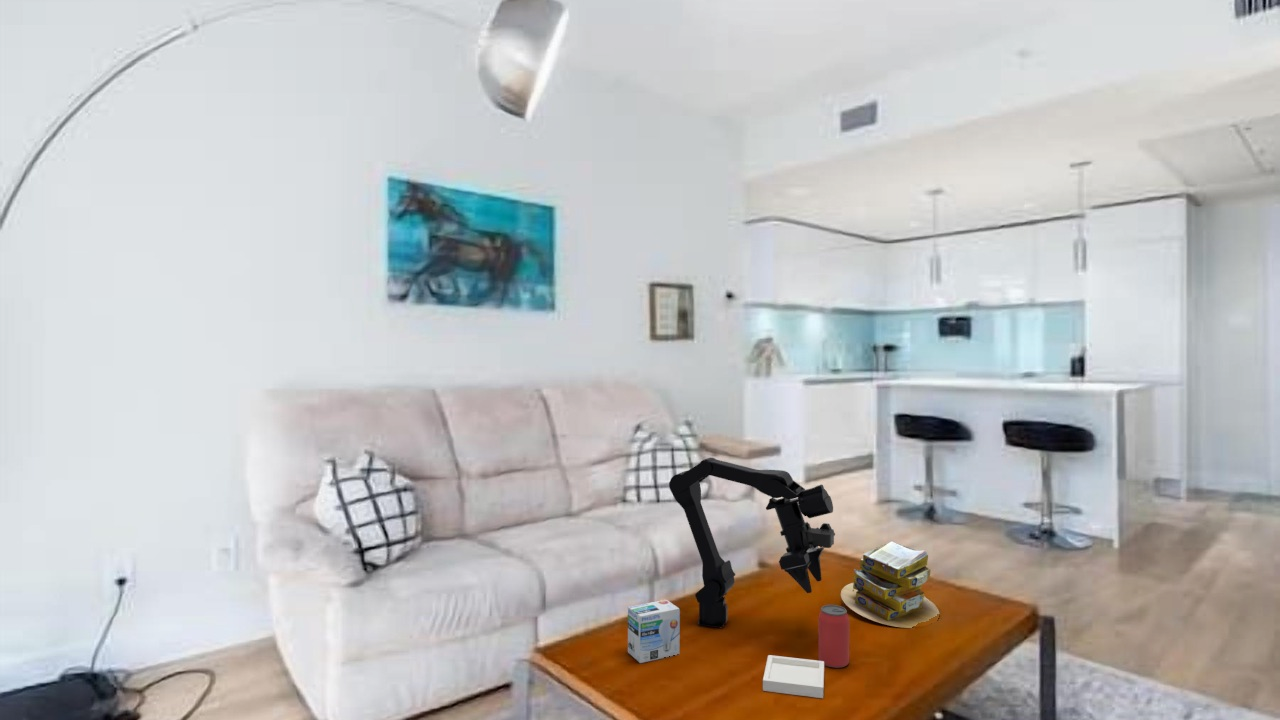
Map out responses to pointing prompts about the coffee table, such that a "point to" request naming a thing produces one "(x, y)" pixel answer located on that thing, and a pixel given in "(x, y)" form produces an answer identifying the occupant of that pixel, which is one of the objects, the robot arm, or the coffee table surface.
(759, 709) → the coffee table surface
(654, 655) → the light bulb box
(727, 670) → the coffee table surface
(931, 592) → the coffee table surface
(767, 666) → the dock tray
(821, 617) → the beer can
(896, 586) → the stacked boxes on plate
